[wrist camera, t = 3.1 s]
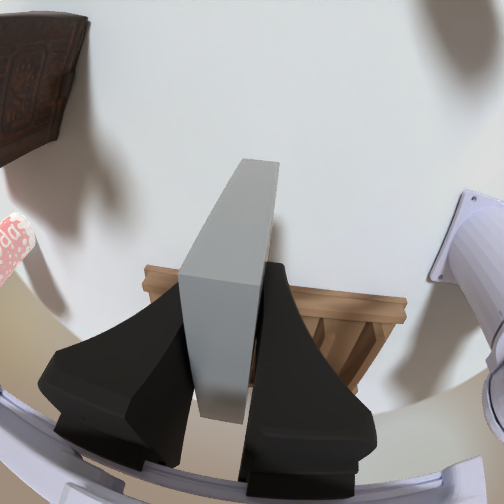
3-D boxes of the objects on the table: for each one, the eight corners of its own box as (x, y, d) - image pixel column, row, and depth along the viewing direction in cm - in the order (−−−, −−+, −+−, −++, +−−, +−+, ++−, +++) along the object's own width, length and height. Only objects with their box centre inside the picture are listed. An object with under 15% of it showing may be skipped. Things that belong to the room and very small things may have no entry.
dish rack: (405, 298, 22) (416, 329, 19) (357, 379, 29) (360, 406, 26) (146, 264, 23) (128, 293, 20) (166, 355, 30) (157, 380, 27)
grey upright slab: (279, 162, 12) (260, 286, 5) (264, 287, 16) (242, 424, 9) (242, 158, 12) (177, 273, 5) (235, 283, 16) (200, 416, 9)
